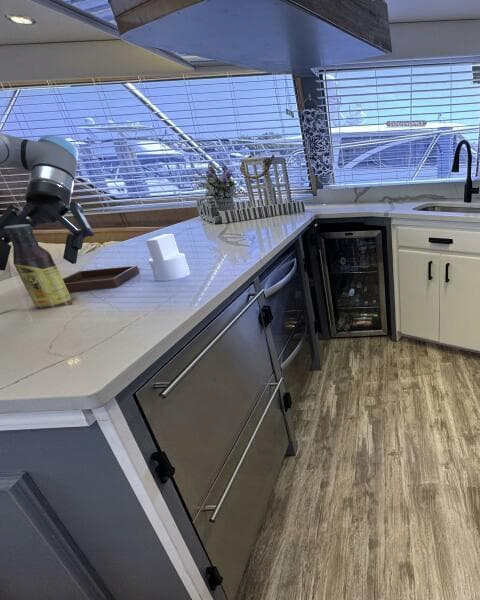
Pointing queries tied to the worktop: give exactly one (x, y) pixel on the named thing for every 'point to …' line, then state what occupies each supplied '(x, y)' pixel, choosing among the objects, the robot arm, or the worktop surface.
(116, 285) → the tray
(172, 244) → the cylinder with rectangular tab
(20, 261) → the sauce bottle
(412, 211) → the worktop surface
